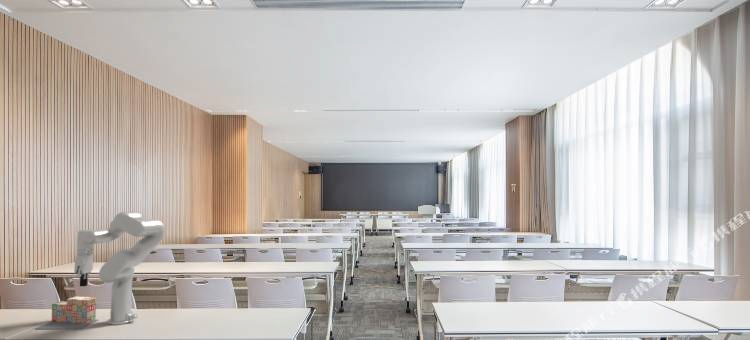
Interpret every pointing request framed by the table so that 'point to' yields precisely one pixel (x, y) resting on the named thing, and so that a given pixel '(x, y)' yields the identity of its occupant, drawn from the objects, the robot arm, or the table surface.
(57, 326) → the mat
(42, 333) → the table surface
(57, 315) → the stack of blocks
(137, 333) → the table surface
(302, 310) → the table surface
